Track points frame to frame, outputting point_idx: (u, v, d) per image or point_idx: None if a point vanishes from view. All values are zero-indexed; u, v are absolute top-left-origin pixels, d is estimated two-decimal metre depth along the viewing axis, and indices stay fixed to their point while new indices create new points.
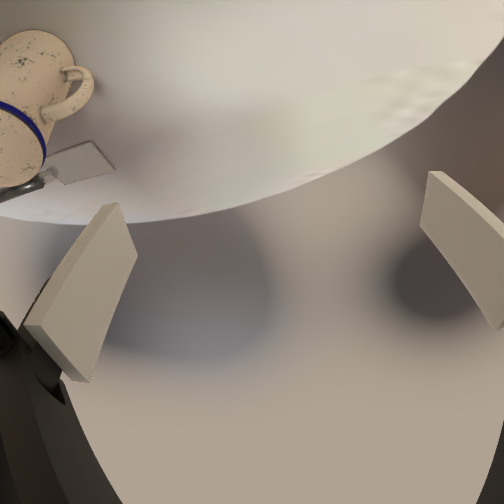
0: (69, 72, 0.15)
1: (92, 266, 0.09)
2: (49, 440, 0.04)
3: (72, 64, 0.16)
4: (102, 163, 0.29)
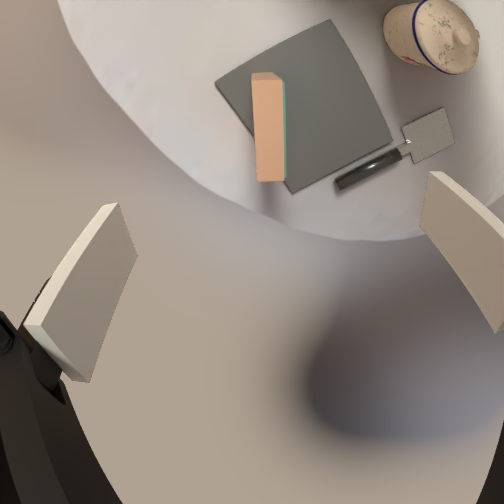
0: None
1: (92, 266, 0.09)
2: (49, 440, 0.04)
3: None
4: (448, 133, 0.33)
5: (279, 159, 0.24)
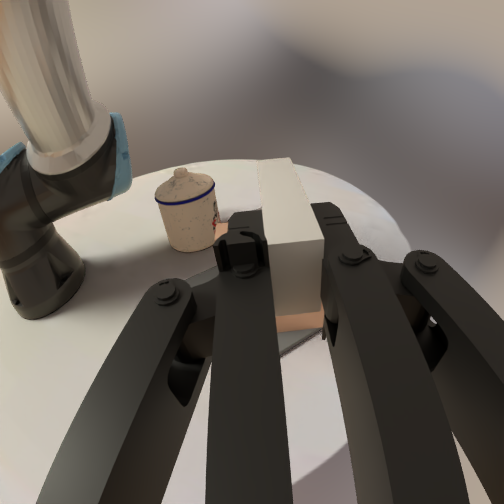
0: None
1: None
2: None
3: None
4: None
5: None
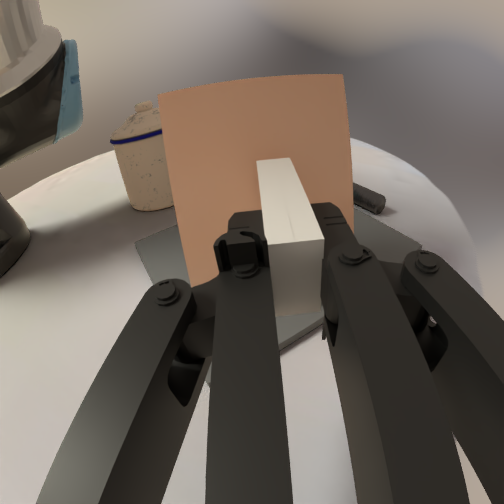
0: None
1: None
2: None
3: None
4: None
5: None
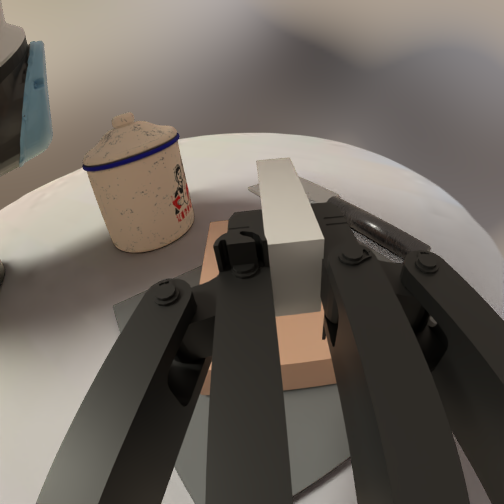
0: None
1: None
2: None
3: None
4: None
5: None
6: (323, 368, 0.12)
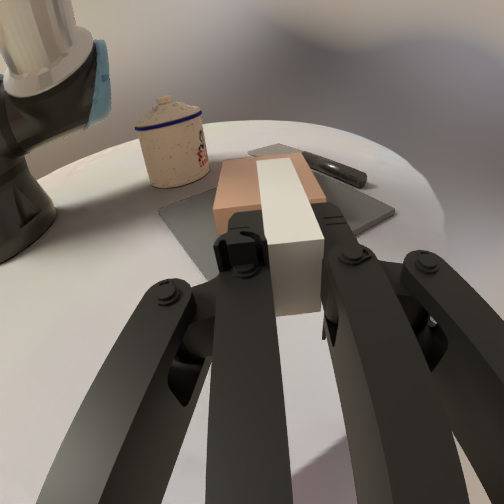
0: None
1: None
2: None
3: None
4: (271, 146, 0.45)
5: None
6: None
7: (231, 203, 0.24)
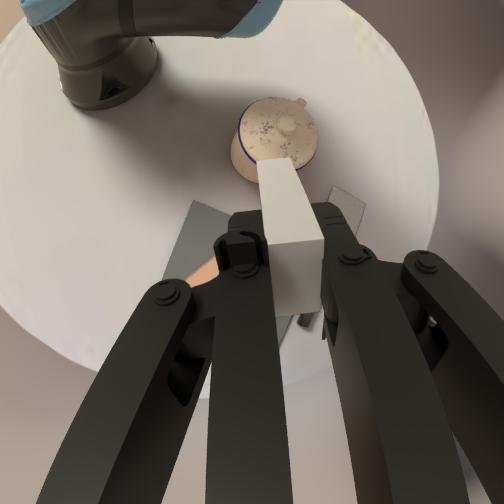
0: None
1: None
2: None
3: None
4: (354, 201, 0.42)
5: None
6: None
7: None
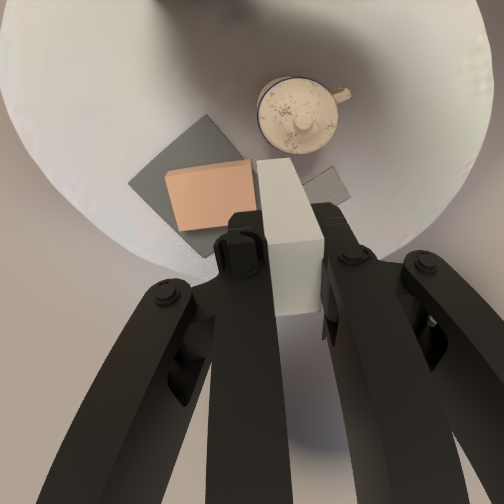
0: None
1: None
2: None
3: None
4: (341, 189, 0.44)
5: None
6: None
7: (171, 186, 0.40)
